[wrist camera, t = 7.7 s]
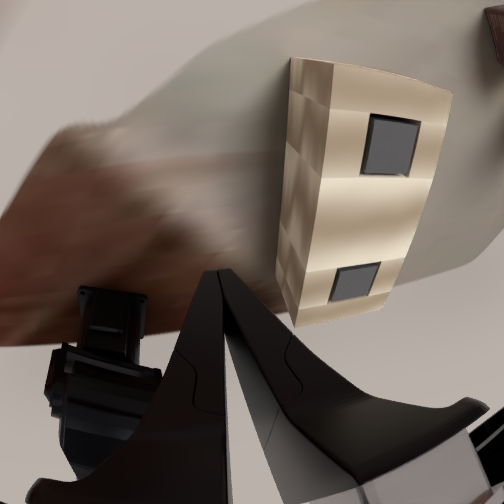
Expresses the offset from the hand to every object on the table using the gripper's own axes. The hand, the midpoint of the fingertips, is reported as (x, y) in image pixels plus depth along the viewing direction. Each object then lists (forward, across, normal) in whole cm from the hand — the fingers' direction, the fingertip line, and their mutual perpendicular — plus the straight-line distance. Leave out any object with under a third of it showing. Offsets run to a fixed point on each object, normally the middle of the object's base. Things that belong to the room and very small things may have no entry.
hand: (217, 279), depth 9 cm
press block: (+12, -10, +2) cm, 15 cm away
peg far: (+10, -10, +7) cm, 16 cm away
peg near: (+10, -10, -3) cm, 14 cm away
